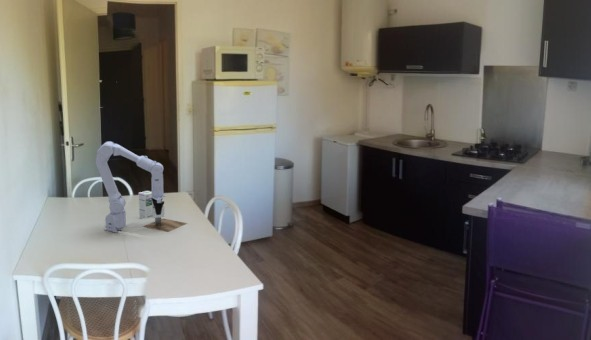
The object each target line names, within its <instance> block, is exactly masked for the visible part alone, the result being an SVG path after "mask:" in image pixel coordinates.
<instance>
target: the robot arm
mask: <svg viewBox="0 0 591 340" xmlns="http://www.w3.org/2000/svg"><path fill="white" fill-rule="evenodd" d="M96 153H97V154H96V157H95V166H96V168H97V171H98V173H99V175H100V178H101V181H102V183H103V185H104V188H105V190H106V193H107V195H108V202H109V210H110V211H109V213H108V214H107V215H105V220H104V221H105V228H104V231H108V232H111V233H112V232H113V233H119V232H121V231H123V229H122V228H124V227H126V226H127V223H126V222H127V219H126V213H127V212H126V209H125V206H126V204H127V203H126V202H127V201H126V200H125V198H124V197H123V196H122V194H121V192H120V191H119V189H118V187H117V185H116V182H115V180H114V177H113V174H112V172H111V169H110V167H109V164H108V161H109V159H110V157H111V156H112V155H113V156H114V157H115V156H121V157H124V158H126V159H128V160H130V161H132V162H134V163H136V166H137V167H139V168H141V169H143V170H145V171H147V172H149V173H150V174H151V177H150V179H151V180H150V181H151V192H152V196H151V197H152V198H151V199H152V202H153V204H154V206H155V211H156V215H161V211H162V207H163V206H164V204H165V201H164V200H163V198H165V197H167V195H166V194H164V174H163V172H164V165H163V164H162V163H161V162H157V161H156V160H152V159H150V158H148V156H147V155H138V154H135V153H134V152H132V151H130V150H128V149H127V148H125V147H123V146H122V145H120V144H118V143H115V142H114V141H110V140H109V141H105V142H104V143H103V144H102V145H100V147H99V148H98V149H97V151H96Z"/></svg>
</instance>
